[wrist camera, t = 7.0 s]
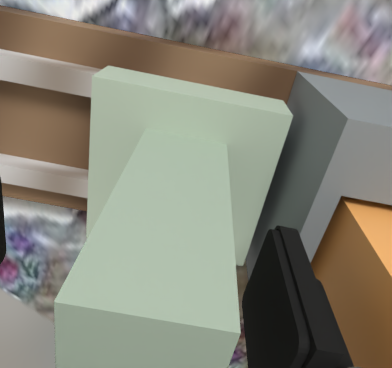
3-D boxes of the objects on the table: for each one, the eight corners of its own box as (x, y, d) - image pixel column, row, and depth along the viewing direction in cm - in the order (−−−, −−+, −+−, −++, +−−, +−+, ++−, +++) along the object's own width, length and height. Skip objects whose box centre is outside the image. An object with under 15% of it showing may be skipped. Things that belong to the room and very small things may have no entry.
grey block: (434, 99, 15) (566, 162, 9) (348, 261, 19) (402, 370, 13) (297, 71, 14) (348, 118, 9) (242, 242, 19) (253, 345, 13)
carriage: (283, 100, 14) (404, 288, 5) (240, 238, 17) (265, 495, 8) (108, 65, 13) (-98, 198, 5) (99, 212, 17) (-29, 452, 8)
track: (416, 90, 16) (482, 121, 12) (341, 241, 20) (371, 301, 16) (-161, -28, 15) (-299, -37, 11) (-110, 158, 19) (-194, 201, 15)
